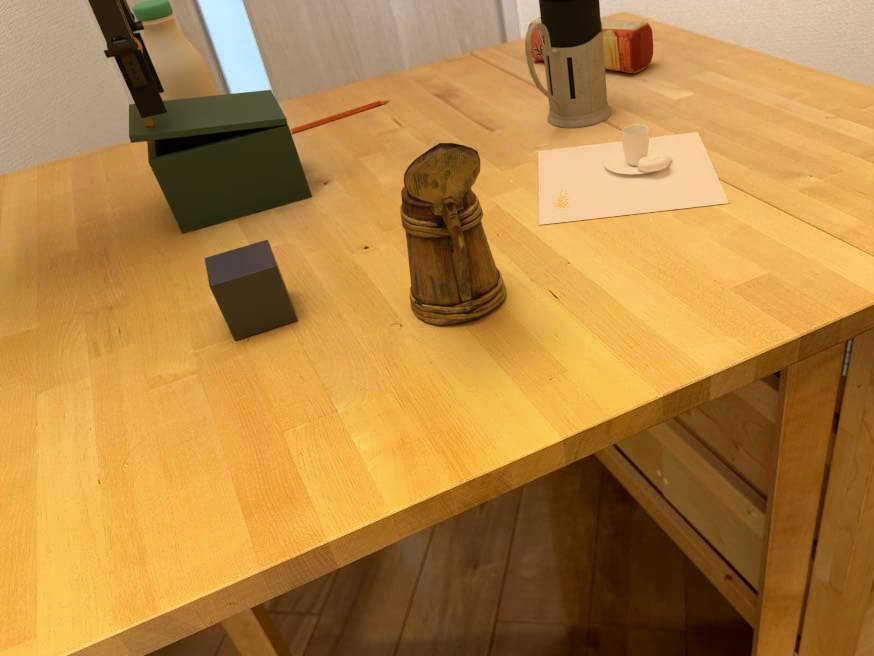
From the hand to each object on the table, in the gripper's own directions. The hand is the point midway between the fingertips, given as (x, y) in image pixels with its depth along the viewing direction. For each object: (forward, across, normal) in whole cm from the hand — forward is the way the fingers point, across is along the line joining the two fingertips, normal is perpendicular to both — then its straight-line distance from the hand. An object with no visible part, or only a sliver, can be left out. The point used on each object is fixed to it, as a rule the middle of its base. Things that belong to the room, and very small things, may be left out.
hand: (153, 103), depth 87 cm
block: (+13, -31, -4) cm, 34 cm away
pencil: (+13, +20, -22) cm, 33 cm away
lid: (+3, 0, -5) cm, 6 cm away
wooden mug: (+13, -42, -21) cm, 49 cm away
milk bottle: (+13, +19, -3) cm, 23 cm away
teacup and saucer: (+13, -26, -47) cm, 55 cm away
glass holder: (+13, -6, -49) cm, 51 cm away
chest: (+13, 0, -6) cm, 14 cm away
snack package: (+13, +14, -62) cm, 65 cm away
